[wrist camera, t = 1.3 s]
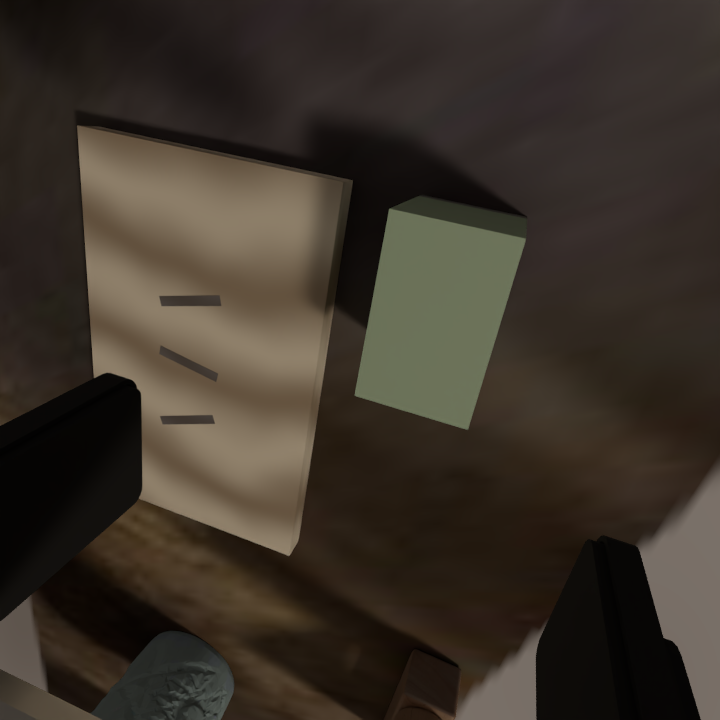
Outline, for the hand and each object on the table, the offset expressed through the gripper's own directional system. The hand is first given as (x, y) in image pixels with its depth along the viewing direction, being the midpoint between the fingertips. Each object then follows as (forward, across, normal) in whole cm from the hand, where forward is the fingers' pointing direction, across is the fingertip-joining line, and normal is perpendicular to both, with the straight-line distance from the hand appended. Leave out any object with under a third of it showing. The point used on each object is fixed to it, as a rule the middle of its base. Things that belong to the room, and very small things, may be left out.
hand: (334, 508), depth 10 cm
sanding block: (+18, 0, 0) cm, 18 cm away
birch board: (+18, +14, +8) cm, 23 cm away
